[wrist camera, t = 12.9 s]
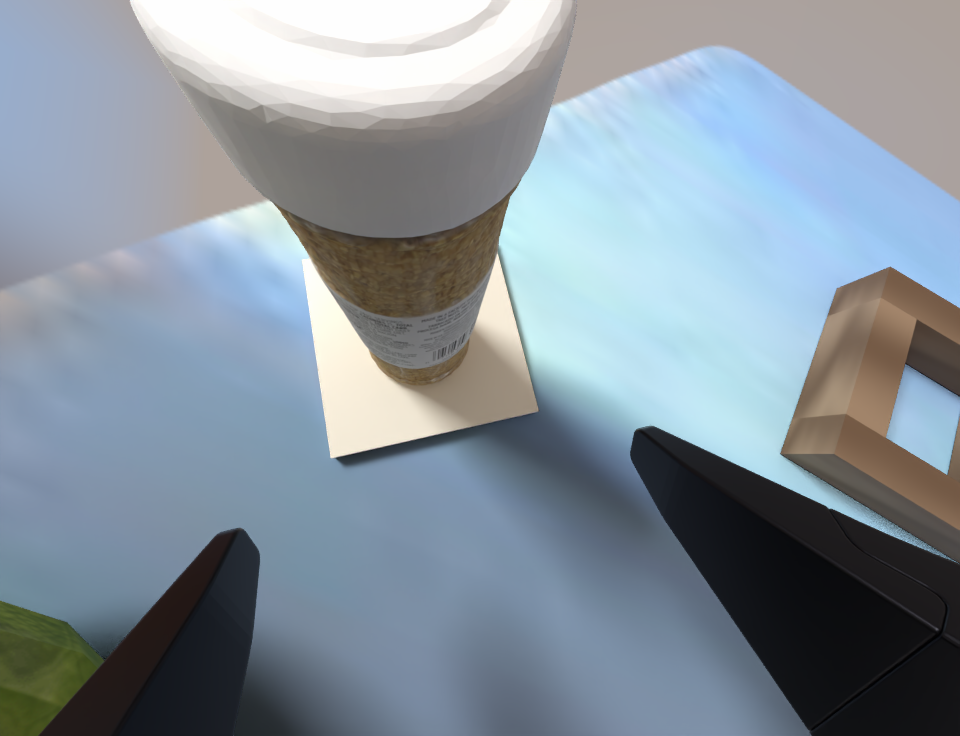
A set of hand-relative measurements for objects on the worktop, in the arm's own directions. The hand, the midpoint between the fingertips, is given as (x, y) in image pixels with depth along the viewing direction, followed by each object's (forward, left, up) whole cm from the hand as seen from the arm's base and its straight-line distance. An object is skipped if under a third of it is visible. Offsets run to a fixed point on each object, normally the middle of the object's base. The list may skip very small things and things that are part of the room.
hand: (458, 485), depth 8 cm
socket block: (+3, -24, -8) cm, 25 cm away
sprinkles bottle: (+6, +1, -7) cm, 9 cm away
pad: (+6, +1, -8) cm, 10 cm away
